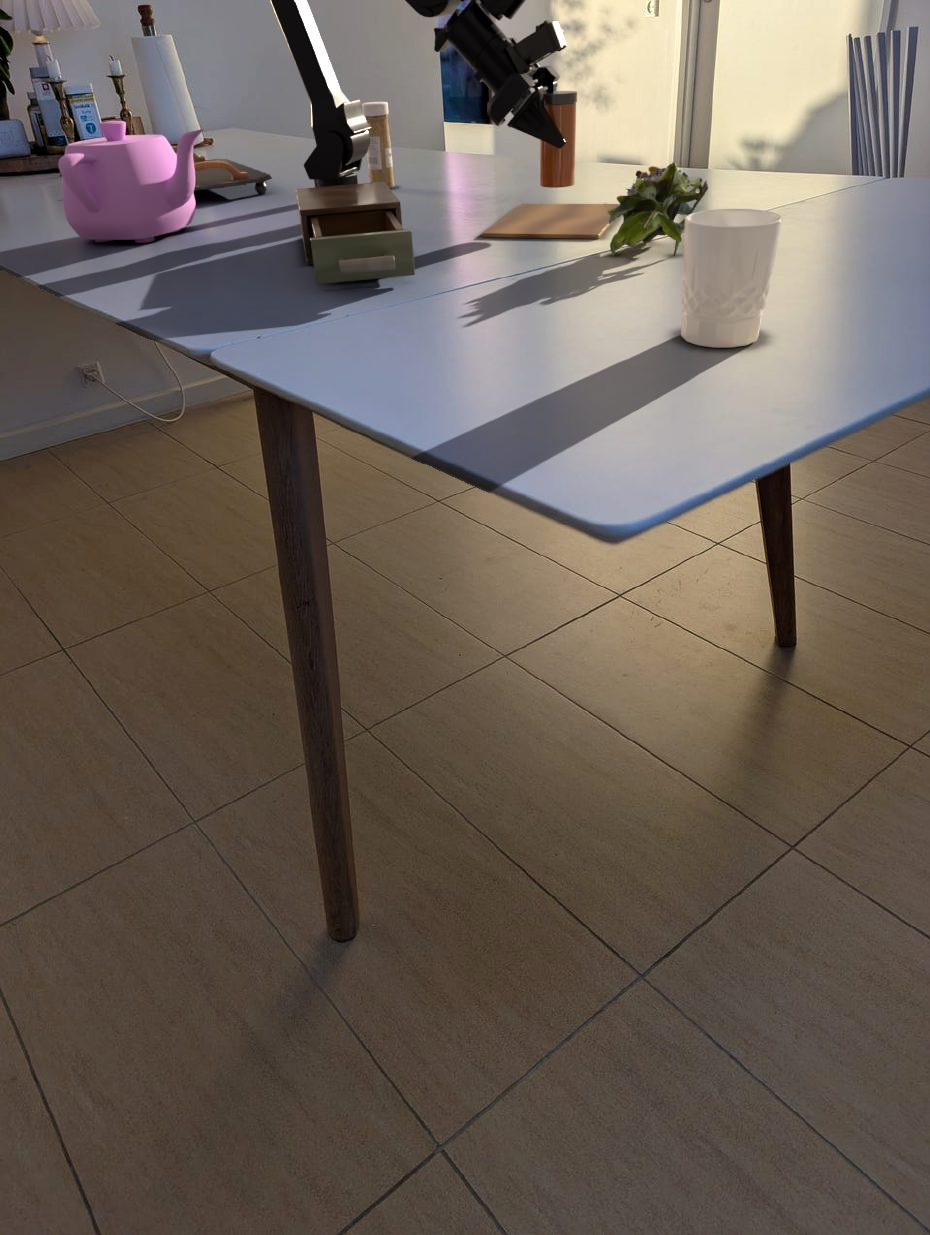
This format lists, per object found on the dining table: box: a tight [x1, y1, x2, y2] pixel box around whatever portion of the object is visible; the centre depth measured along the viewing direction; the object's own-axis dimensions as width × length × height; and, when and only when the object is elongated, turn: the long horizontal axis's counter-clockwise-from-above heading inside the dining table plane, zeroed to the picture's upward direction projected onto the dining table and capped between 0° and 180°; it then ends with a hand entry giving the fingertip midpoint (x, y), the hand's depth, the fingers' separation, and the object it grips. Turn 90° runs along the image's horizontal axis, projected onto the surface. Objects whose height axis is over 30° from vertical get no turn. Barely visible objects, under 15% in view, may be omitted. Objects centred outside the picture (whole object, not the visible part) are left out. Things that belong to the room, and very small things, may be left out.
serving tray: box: [171, 145, 273, 196], centre depth 167 cm, size 39×23×6 cm, turn 28°
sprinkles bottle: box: [361, 101, 395, 189], centre depth 156 cm, size 5×5×14 cm
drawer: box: [310, 209, 416, 285], centre depth 104 cm, size 21×11×5 cm, turn 11°
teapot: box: [58, 120, 205, 244], centre depth 127 cm, size 23×21×15 cm
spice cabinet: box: [295, 182, 403, 266], centre depth 118 cm, size 17×12×6 cm
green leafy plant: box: [608, 161, 709, 257], centre depth 107 cm, size 11×11×12 cm
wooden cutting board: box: [481, 203, 620, 240], centre depth 127 cm, size 16×22×1 cm
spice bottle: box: [539, 90, 578, 189], centre depth 121 cm, size 5×5×11 cm
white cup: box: [680, 208, 783, 349], centre depth 77 cm, size 8×8×10 cm
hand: (567, 143), depth 121 cm, fingers closed on spice bottle, 5 cm apart
